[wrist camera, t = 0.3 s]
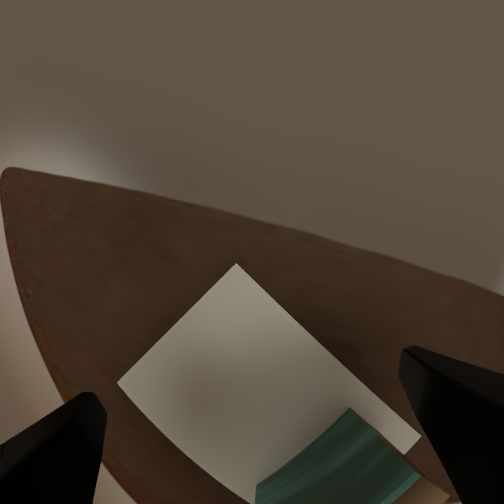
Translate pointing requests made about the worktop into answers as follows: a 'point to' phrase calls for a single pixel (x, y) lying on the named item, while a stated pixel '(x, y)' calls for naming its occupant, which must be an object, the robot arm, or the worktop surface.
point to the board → (248, 387)
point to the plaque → (349, 471)
